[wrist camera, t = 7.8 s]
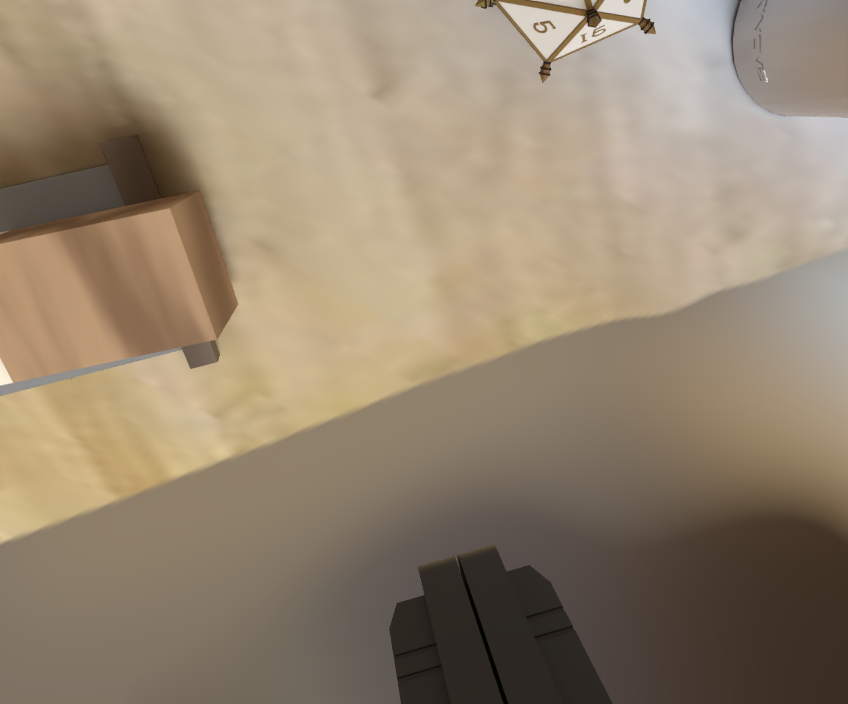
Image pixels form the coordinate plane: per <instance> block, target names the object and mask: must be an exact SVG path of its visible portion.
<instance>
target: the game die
mask: <svg viewBox="0 0 848 704" xmlns="http://www.w3.org/2000/svg"><path fill="white" fill-rule="evenodd" d="M646 1H647V0H478V2H477V3H476V5H475V6H480V7H481V8H485V9H486V8H487V6H488V7H493V5H497V6H498V8H499V9H500V10H501V11H502V12H503V14H504V15H505V16H506V17H507V18H508V19H509V21H510V22H511V23H512V24H513V25H514V27H515V28H516V29H517V30H518V31H519V32H520V34H521V35H522V36H523V37H524V38H525V40H526V41H527V42H528V43H529V44H530V45H531V47H532V48H533V49H534V50H535V51H536V53H537V54H538V55H539V56H540V57H541V58H542V60H543V61H544V63H543V65H542V67H540V68H541V71H540V72H539V74H540V76H541V79H542V82H544V81H545V80H546V79H547V77H548V76H550V74H549V73H550V70H551V68H550V64H551V62H553V61H555V60H558V59H560V58H562V57H564V56H567V55H569V54H571V53H574V52H576V51H578V50H580V49H583V48H585V47H587V46H589V45H592V44H594V43H596V42H598V41H601V40H603V39H605V38H608V37H610V36H612V35H614V34H617V33H619V32H621V31H623V30H626V29H628V28H630V27H633V26H635V25H637V24H638V25H639V26H640V27H641V30H643V31H644V33H645V34H646V33H651V34H656V33H655V28H654V22H653V23H652V22H651V21H650V19H645V18H644V17H643V16H644V11H645V6H646Z"/></svg>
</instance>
